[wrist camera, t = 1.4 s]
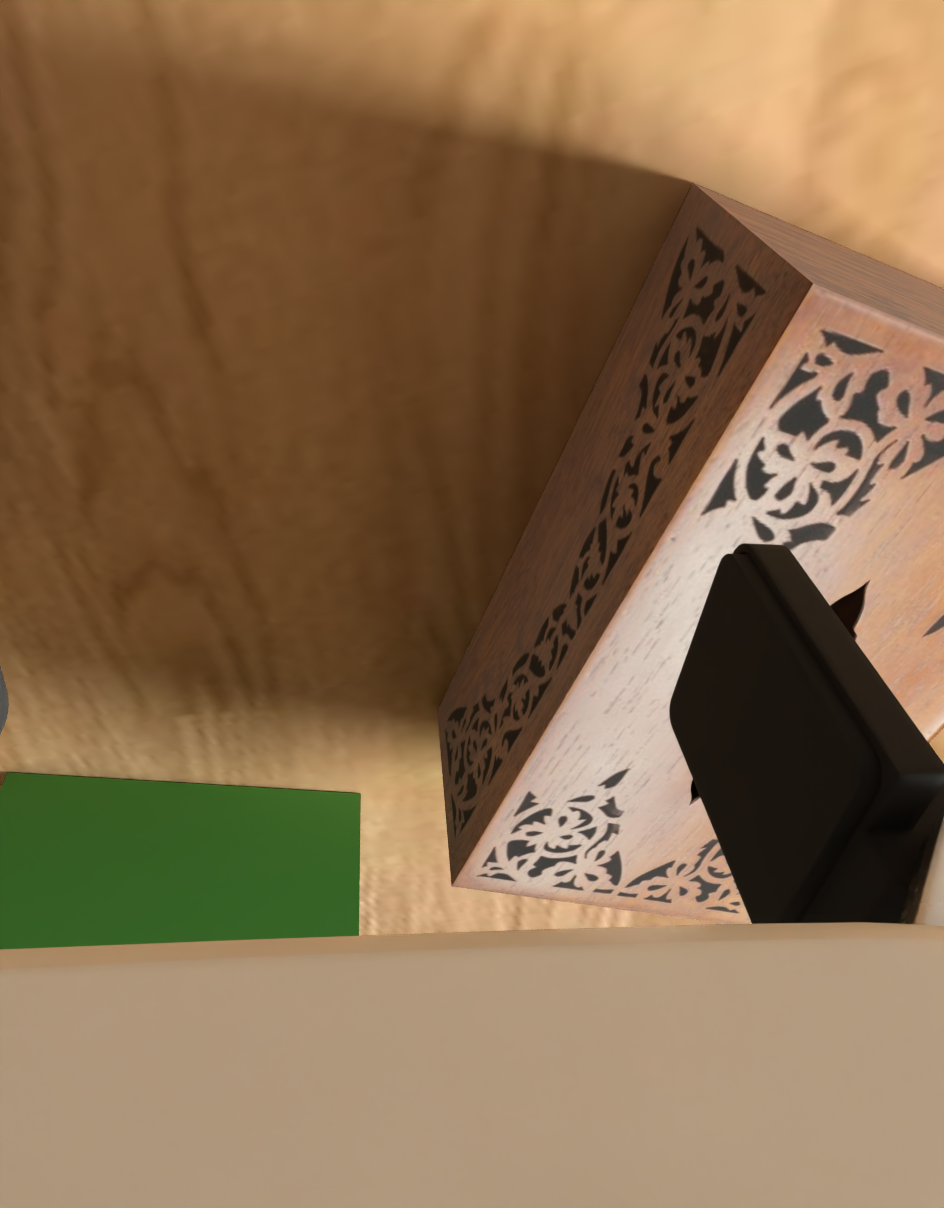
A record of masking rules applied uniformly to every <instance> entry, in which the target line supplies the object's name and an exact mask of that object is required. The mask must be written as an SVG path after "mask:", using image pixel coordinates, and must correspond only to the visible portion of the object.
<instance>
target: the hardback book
mask: <svg viewBox="0 0 944 1208" xmlns="http://www.w3.org/2000/svg"><path fill="white" fill-rule="evenodd" d="M360 801H361V794H360V793H343V792H327V791H310V790H293V789H277V788H260V787H244V786H227V785H210V784H194V783H177V782H160V781H144V780H127V779H111V778H94V777H77V776H61V775H44V774H28V773H11V772H7V775H6V777H5V779H4V782H3V784H2V786H1V789H0V950H1V949H26V948H51V947H76V946H101V945H126V944H152V943H177V942H202V941H227V940H253V939H281V938H309V937H337V936H359V879H360Z"/></svg>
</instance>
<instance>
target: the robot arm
mask: <svg viewBox="0 0 944 1208" xmlns="http://www.w3.org/2000/svg"><path fill="white" fill-rule="evenodd" d="M8 705H9V703H8V693H7V689H6V685H5V681H4V678H3V674H2V671H1V667H0V734H1V732H2V729H3V727H4V725H5V722H6V719H7V714H8ZM669 716H670V723H671V726H672V729H673V731H674V734H675V736H676V739H677V741H678V743H679V746H680V748H681V751H682V753H683V756H684V758H685V761H686V763H687V766H688V768H689V770H690V773H691V775H692V778H693V780H694V783H695V785H696V788H697V790H698V793H699V795H700V797H701V800H702V802H703V805H704V807H705V810H706V812H707V815H708V817H709V820H710V822H711V824H712V827H713V829H714V832H715V834H716V837H717V839H718V842H719V844H720V847H721V849H722V851H723V854H724V856H725V859H726V861H727V864H728V866H729V869H730V871H731V874H732V876H733V878H734V881H735V883H736V886H737V888H738V891H739V893H740V896H741V898H742V901H743V903H744V905H745V908H746V910H747V913H748V915H749V918H750V920H751V923H752V924H715V925H681V926H647V927H612V928H578V929H544V930H512V931H483V932H453V933H423V934H394V935H366V936H337V937H309V938H281V939H253V940H227V941H202V942H177V943H152V944H126V945H101V946H76V947H51V948H26V949H1V950H0V1208H944V764H943V762H942V761H941V760H940V758H939V757H938V756H937V754H936V753H935V751H934V750H933V749H932V747H931V746H930V744H929V743H928V742H927V740H926V739H925V737H924V736H923V735H922V733H921V732H920V730H919V729H918V728H917V726H916V725H915V723H914V722H913V721H912V719H911V718H910V717H909V715H908V714H907V712H906V711H905V710H904V708H903V707H902V705H901V704H900V703H899V701H898V700H897V698H896V697H895V696H894V694H893V693H892V691H891V690H890V689H889V687H888V686H887V684H886V683H885V682H884V680H883V679H882V678H881V676H880V675H879V673H878V672H877V671H876V669H875V668H874V666H873V665H872V664H871V662H870V661H869V659H868V658H867V657H866V655H865V654H864V652H863V651H862V650H861V648H860V647H859V645H858V644H857V643H856V641H855V640H854V639H853V637H852V636H851V634H850V633H849V632H848V630H847V629H846V627H845V626H844V625H843V623H842V622H841V620H840V619H839V618H838V616H837V615H836V613H835V612H834V611H833V609H832V608H831V606H830V605H829V604H828V602H827V601H826V600H825V598H824V597H823V595H822V594H821V593H820V591H819V590H818V588H817V587H816V586H815V584H814V583H813V581H812V580H811V579H810V577H809V576H808V574H807V573H806V572H805V570H804V569H803V567H802V566H801V565H800V563H799V562H798V561H797V559H796V558H795V556H794V555H793V554H792V552H791V551H790V550H789V549H788V548H787V547H786V546H783V545H773V544H749V543H743V544H740V545H738V547H737V548H736V549H735V550H734V552H733V554H729V553H728V554H726V555H724V556H723V557H722V559H721V561H720V563H719V566H718V568H717V571H716V574H715V577H714V580H713V582H712V585H711V588H710V591H709V594H708V596H707V599H706V602H705V605H704V608H703V610H702V613H701V616H700V619H699V622H698V624H697V627H696V630H695V633H694V636H693V638H692V641H691V644H690V647H689V650H688V652H687V655H686V658H685V661H684V664H683V666H682V669H681V672H680V675H679V678H678V681H677V683H676V686H675V689H674V692H673V695H672V697H671V701H670V708H669Z"/></svg>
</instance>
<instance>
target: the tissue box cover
mask: <svg viewBox="0 0 944 1208" xmlns="http://www.w3.org/2000/svg"><path fill="white" fill-rule="evenodd" d="M743 543H749V544H773V545H783V546H786V547H787V548H788V549H789V550H790V551H791V552H792V554H793V555H794V556H795V558H796V559H797V561H798V562H799V563H800V565H801V566H802V567H803V569H804V570H805V572H806V573H807V574H808V576H809V577H810V579H811V580H812V581H813V583H814V584H815V586H816V587H817V588H818V590H819V591H820V593H821V594H822V595H823V597H824V598H825V600H826V601H827V602H828V604H829V605H830V606H831V608H832V609H833V611H834V612H835V613H836V615H837V616H838V618H839V619H840V620H841V622H842V623H843V625H844V626H845V627H846V629H847V630H848V632H849V633H850V634H851V636H852V637H853V639H854V640H855V641H856V643H857V644H858V645H859V647H860V648H861V650H862V651H863V652H864V654H865V655H866V657H867V658H868V659H869V661H870V662H871V664H872V665H873V666H874V668H875V669H876V671H877V672H878V673H879V675H880V676H881V678H882V679H883V680H884V682H885V683H886V684H887V686H888V687H889V689H890V690H891V691H892V693H893V694H894V696H895V697H896V698H897V700H898V701H899V703H900V704H901V705H902V707H903V708H904V710H905V711H906V712H907V714H908V715H909V717H910V718H911V719H912V721H913V722H914V723H915V725H916V726H917V728H918V729H919V730H920V732H921V733H922V735H923V736H924V737H925V739H926V740H927V742H928V743H929V742H930V741H931V740H932V739H933V738H934V737H935V736H936V735H937V734H938V733H939V732H940V731H941V730H942V729H943V728H944V289H943V288H940V287H938V286H935V285H933V284H931V283H928V282H926V281H924V280H921V279H919V278H917V277H914V276H912V275H909V274H907V273H905V272H902V271H900V270H898V269H895V268H893V267H891V266H888V265H886V264H884V263H881V262H879V261H876V260H874V259H872V258H869V257H867V256H865V255H862V254H860V253H858V252H855V251H853V250H850V249H848V248H846V247H843V246H841V245H839V244H836V243H834V242H832V241H829V240H827V239H825V238H822V237H820V236H817V235H815V234H813V233H810V232H808V231H806V230H803V229H801V228H799V227H796V226H794V225H791V224H789V223H787V222H784V221H782V220H780V219H777V218H775V217H773V216H770V215H768V214H765V213H763V212H761V211H758V210H756V209H754V208H751V207H749V206H747V205H744V204H742V203H740V202H737V201H735V200H732V199H730V198H728V197H725V196H723V195H721V194H718V193H716V192H714V191H711V190H709V189H706V188H704V187H702V186H699V185H697V184H695V183H693V184H692V186H691V188H690V190H689V192H688V194H687V196H686V198H685V200H684V202H683V204H682V206H681V209H680V211H679V213H678V215H677V217H676V219H675V221H674V223H673V225H672V227H671V229H670V231H669V233H668V235H667V237H666V240H665V242H664V244H663V246H662V248H661V250H660V252H659V254H658V256H657V258H656V260H655V262H654V264H653V266H652V268H651V270H650V273H649V275H648V277H647V279H646V281H645V283H644V285H643V287H642V289H641V291H640V293H639V295H638V297H637V299H636V301H635V303H634V306H633V308H632V310H631V312H630V314H629V316H628V318H627V320H626V322H625V324H624V326H623V328H622V330H621V332H620V334H619V337H618V339H617V341H616V343H615V345H614V347H613V349H612V351H611V353H610V355H609V357H608V359H607V361H606V363H605V365H604V367H603V370H602V372H601V374H600V376H599V378H598V380H597V382H596V384H595V386H594V388H593V390H592V392H591V394H590V396H589V398H588V400H587V403H586V405H585V407H584V409H583V411H582V413H581V415H580V417H579V419H578V421H577V423H576V425H575V427H574V429H573V431H572V434H571V436H570V438H569V440H568V442H567V444H566V446H565V448H564V450H563V452H562V454H561V456H560V458H559V460H558V462H557V464H556V467H555V469H554V471H553V473H552V475H551V477H550V479H549V481H548V483H547V485H546V487H545V489H544V491H543V493H542V495H541V497H540V500H539V502H538V504H537V506H536V508H535V510H534V512H533V514H532V516H531V518H530V520H529V522H528V524H527V526H526V528H525V531H524V533H523V535H522V537H521V539H520V541H519V543H518V545H517V547H516V549H515V551H514V553H513V555H512V557H511V559H510V561H509V564H508V566H507V568H506V570H505V572H504V574H503V576H502V578H501V580H500V582H499V584H498V586H497V588H496V590H495V592H494V594H493V597H492V599H491V601H490V603H489V605H488V607H487V609H486V611H485V613H484V615H483V617H482V619H481V621H480V623H479V625H478V628H477V630H476V632H475V634H474V636H473V638H472V640H471V642H470V644H469V646H468V648H467V650H466V652H465V654H464V656H463V658H462V661H461V663H460V665H459V667H458V669H457V671H456V673H455V675H454V677H453V679H452V681H451V683H450V685H449V687H448V689H447V691H446V694H445V696H444V698H443V700H442V702H441V704H440V706H439V708H438V710H437V713H438V725H439V737H440V750H441V762H442V774H443V786H444V798H445V810H446V823H447V835H448V847H449V859H450V871H451V883H452V886H453V887H461V888H468V889H475V890H483V891H490V892H498V893H505V894H512V895H520V896H527V897H534V898H542V899H549V900H556V901H564V902H571V903H578V904H586V905H593V906H601V907H608V908H615V909H623V910H630V911H637V912H645V913H652V914H659V915H667V916H674V917H681V918H689V919H696V920H703V921H711V922H718V923H726V924H750V923H751V920H750V918H749V915H748V913H747V910H746V908H745V905H744V903H743V901H742V898H741V896H740V893H739V891H738V888H737V886H736V883H735V881H734V878H733V876H732V874H731V871H730V869H729V866H728V864H727V861H726V859H725V856H724V854H723V851H722V849H721V847H720V844H719V842H718V839H717V837H716V834H715V832H714V829H713V827H712V824H711V822H710V820H709V817H708V815H707V812H706V810H705V807H704V805H703V802H702V800H701V797H700V795H699V793H698V790H697V788H696V785H695V783H694V780H693V778H692V775H691V773H690V770H689V768H688V766H687V763H686V761H685V758H684V756H683V753H682V751H681V748H680V746H679V743H678V741H677V739H676V736H675V734H674V731H673V729H672V726H671V723H670V716H669V708H670V701H671V697H672V695H673V692H674V689H675V686H676V683H677V681H678V678H679V675H680V672H681V669H682V666H683V664H684V661H685V658H686V655H687V652H688V650H689V647H690V644H691V641H692V638H693V636H694V633H695V630H696V627H697V624H698V622H699V619H700V616H701V613H702V610H703V608H704V605H705V602H706V599H707V596H708V594H709V591H710V588H711V585H712V582H713V580H714V577H715V574H716V571H717V568H718V566H719V563H720V561H721V559H722V557H723V556H724V555H726V554H728V553H729V554H733V552H734V550H735V549H736V548H737V547H738V545H740V544H743Z"/></svg>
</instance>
